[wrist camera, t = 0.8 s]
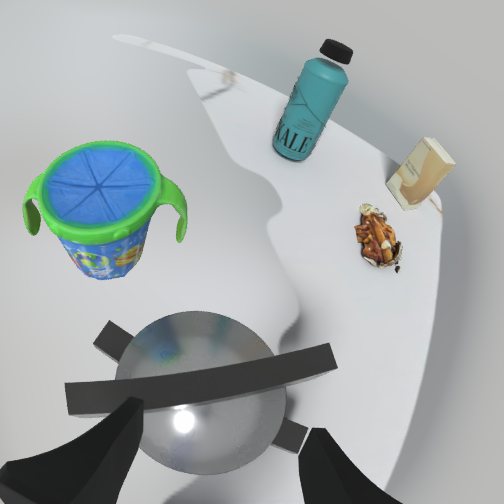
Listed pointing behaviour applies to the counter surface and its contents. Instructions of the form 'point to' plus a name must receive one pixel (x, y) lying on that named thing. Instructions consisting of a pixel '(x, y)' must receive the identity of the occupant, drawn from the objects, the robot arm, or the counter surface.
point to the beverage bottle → (312, 101)
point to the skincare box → (420, 173)
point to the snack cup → (102, 205)
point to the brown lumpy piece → (378, 239)
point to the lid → (202, 390)
